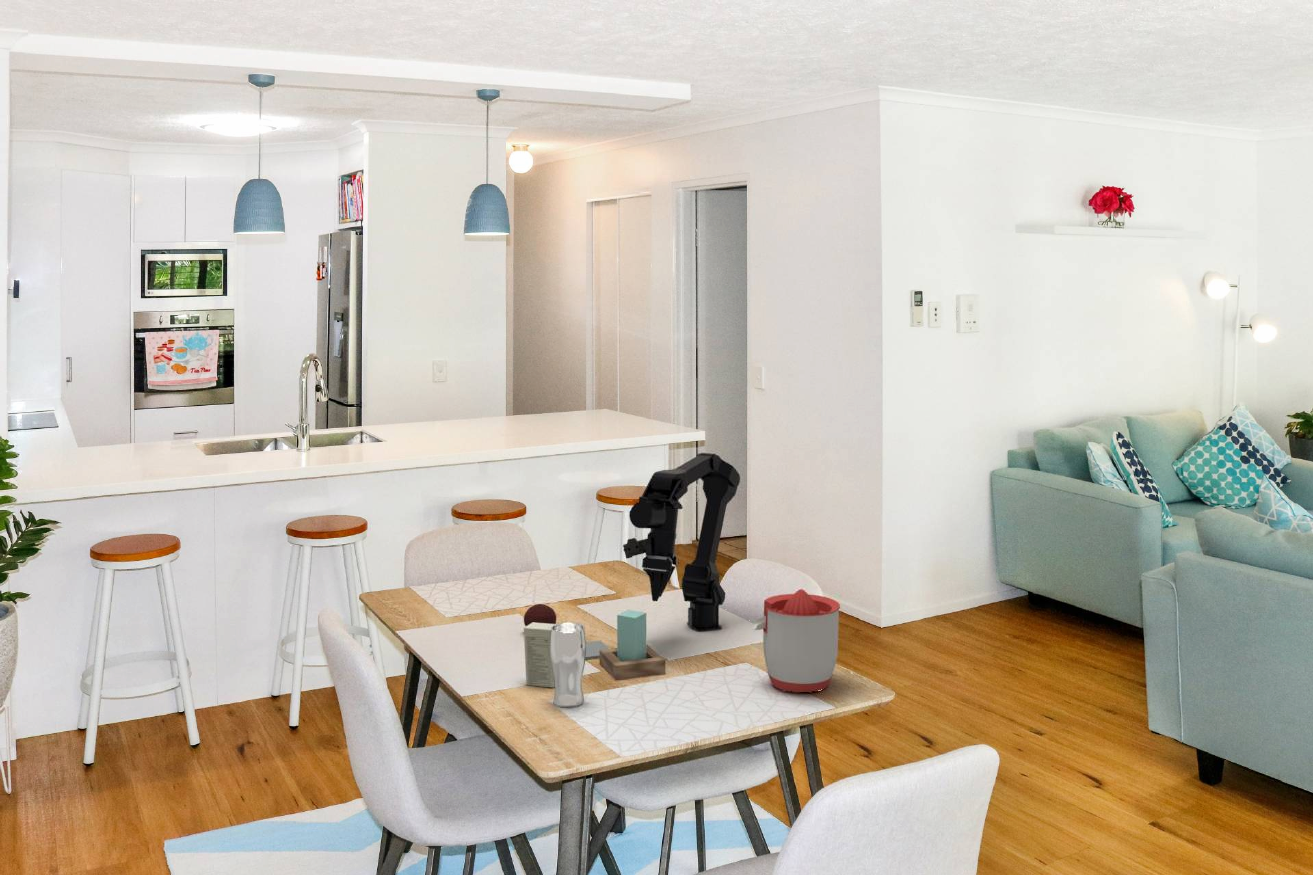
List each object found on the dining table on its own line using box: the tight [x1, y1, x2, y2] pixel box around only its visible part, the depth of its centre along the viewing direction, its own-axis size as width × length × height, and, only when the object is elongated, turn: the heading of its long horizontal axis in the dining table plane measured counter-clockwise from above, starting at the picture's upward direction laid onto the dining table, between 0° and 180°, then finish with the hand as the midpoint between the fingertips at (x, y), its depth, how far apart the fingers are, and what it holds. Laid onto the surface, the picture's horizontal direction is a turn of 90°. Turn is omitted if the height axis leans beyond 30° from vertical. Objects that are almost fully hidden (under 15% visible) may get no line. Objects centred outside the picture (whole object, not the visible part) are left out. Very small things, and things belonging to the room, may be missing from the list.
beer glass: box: [550, 622, 587, 708], centre depth 215 cm, size 7×7×15 cm
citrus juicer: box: [753, 588, 841, 693], centre depth 224 cm, size 16×17×20 cm
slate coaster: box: [585, 640, 610, 661], centre depth 246 cm, size 10×10×1 cm
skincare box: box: [523, 622, 557, 688], centre depth 226 cm, size 6×4×12 cm
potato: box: [523, 603, 557, 627], centre depth 260 cm, size 7×8×7 cm
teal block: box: [616, 609, 647, 662], centre depth 235 cm, size 4×4×12 cm
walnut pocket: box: [599, 643, 666, 681], centre depth 235 cm, size 11×11×3 cm
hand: (656, 598), depth 245 cm, fingers open, 9 cm apart
